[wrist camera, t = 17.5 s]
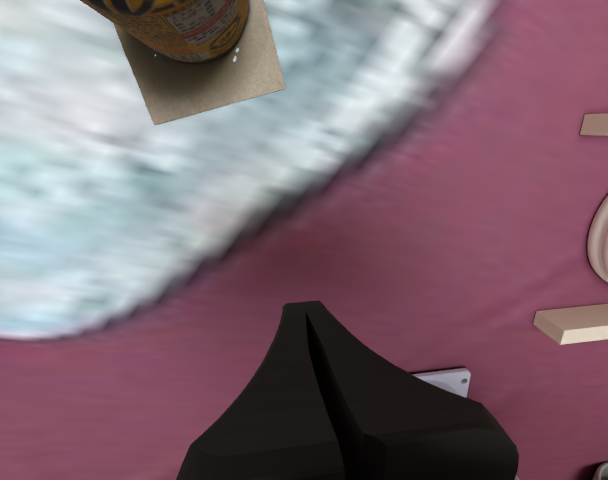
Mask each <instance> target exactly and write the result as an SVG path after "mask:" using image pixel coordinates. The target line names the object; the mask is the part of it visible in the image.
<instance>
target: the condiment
mask: <svg viewBox="0 0 608 480" xmlns="http://www.w3.org/2000/svg"><path fill="white" fill-rule="evenodd" d="M80 1H82V2H83V3H85V4H86V5H88V6H89V7H91V8H93V9H94V10H96V11H97V12H98V13H100V14H101V15H103V16H104V17H106V18H107V19H109V20H110V21H111V22H113V23H114V25H115V28H116V31H117V34H118V36H119V39H120V41H121V43H122V47H123V49H124V52H125V55H126V57H127V59H128V61H129V63H130V66H131V68H132V71H133V74H134V76H135V78H136V80H137V83H138V86H139V88H140V90H141V93H142V96H143V98H144V101H145V104H146V106H147V109H148V111H149V113H150V116H151V118H152V121H153V123H154V125H156V124H160V123H163V122H167V121H170V120H175V119H178V118H182V117H185V116H189V115H192V114H196V113H200V112H204V111H207V110H210V109H214V108H218V107H221V106H225V105H228V104H231V103H236V102H239V101H242V100H245V99H249V98H253V97H257V96H260V95H264V94H267V93H271V92H274V91H278V90H281V89H285V88H286V87H285V83H284V79H283V75H282V71H281V67H280V64H279V60H278V56H277V52H276V48H275V44H274V41H273V37H272V33H271V29H270V25H269V21H268V17H267V13H266V9H265V6H264V2H263V0H80ZM236 48H239V52H238V53H236V52H235V50H236ZM155 54H156V57H155V56H154V55H155ZM235 55H236V56H237V60H236V62H233V58H234V56H235Z"/></svg>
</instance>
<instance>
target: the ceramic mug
mask: <svg viewBox="0 0 608 480" xmlns="http://www.w3.org/2000/svg"><path fill="white" fill-rule="evenodd" d="M592 480H608V462H605V463H603V464H601V465H600V466H599V467H598V468H597V470H596V472H595V475H594V477H593V479H592Z"/></svg>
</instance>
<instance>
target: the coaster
mask: <svg viewBox="0 0 608 480" xmlns="http://www.w3.org/2000/svg"><path fill="white" fill-rule="evenodd" d="M587 249H588V257H589V261H590V264H591V266H592V268H593V269H594V271H595V272H596V273H597V274H598V275H599V276H600V277H601V278H602V279H603V280H605V281H606V282H608V195H607V197H606V198H605V200H604V201H603V202H602V204H601V206H600V207H599V209H598V211H597V212H596V215H595V217H594V219H593V221H592V224H591V227H590V231H589V236H588V245H587Z"/></svg>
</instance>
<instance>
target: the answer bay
mask: <svg viewBox="0 0 608 480" xmlns="http://www.w3.org/2000/svg"><path fill="white" fill-rule="evenodd" d="M580 135H599V136H608V113H607V114H585V116H584V120H583V124H582V128H581V132H580ZM533 325H535V326H536V327H537V328H539V329H540V330H541V331H543V332H544V333H545V334H547V335H548V336H549V337H551V338H552V339H553V340H555V341H556V342H557V343H559V344H560V345H562V344H570V343H579V342H587V341H595V340H604V339H608V304H598V305H589V306H580V307H570V308H561V309H551V310H542V311H536V315H535V319H534V323H533Z"/></svg>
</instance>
